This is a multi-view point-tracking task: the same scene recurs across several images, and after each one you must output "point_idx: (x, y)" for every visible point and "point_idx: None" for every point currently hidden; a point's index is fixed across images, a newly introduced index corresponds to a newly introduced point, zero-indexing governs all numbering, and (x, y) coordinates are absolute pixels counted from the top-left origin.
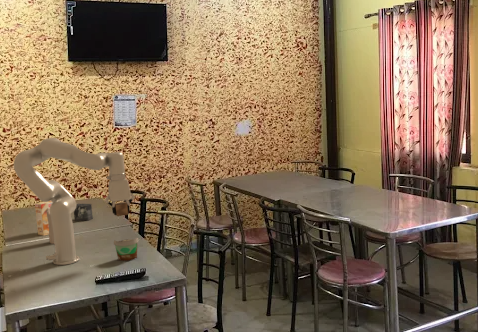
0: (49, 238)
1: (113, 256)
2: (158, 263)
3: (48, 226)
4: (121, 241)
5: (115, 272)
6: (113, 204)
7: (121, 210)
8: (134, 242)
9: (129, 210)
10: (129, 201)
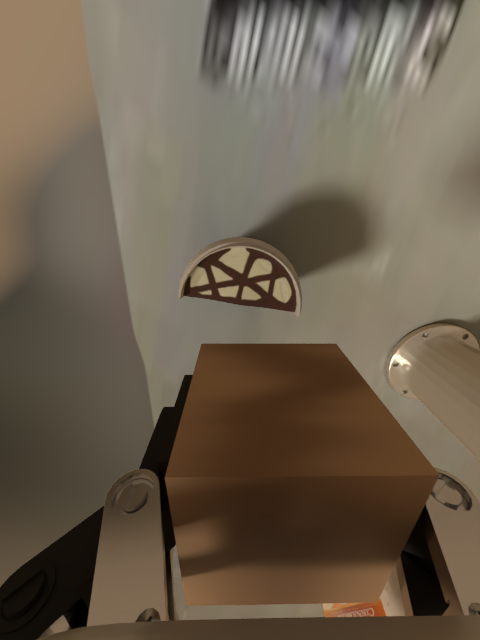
0: None
1: (280, 328)
2: (135, 111)
3: (371, 610)
4: (277, 258)
5: (340, 88)
6: (471, 531)
7: (289, 381)
8: (207, 248)
9: (167, 408)
10: (88, 563)
